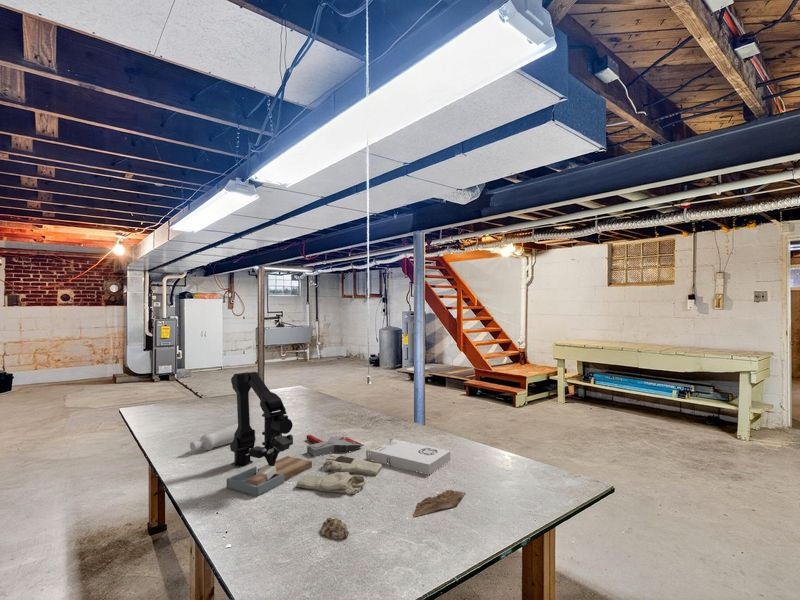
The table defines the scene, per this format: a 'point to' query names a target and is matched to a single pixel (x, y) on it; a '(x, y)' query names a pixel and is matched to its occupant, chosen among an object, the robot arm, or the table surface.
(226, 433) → the bottle
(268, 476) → the cream tile
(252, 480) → the terracotta tile
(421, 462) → the power supply unit
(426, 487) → the table surface
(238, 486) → the tray
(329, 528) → the mineral rock
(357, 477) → the pair of gloves
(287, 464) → the board
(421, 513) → the wooden fragment
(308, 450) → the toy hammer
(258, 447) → the robot arm
